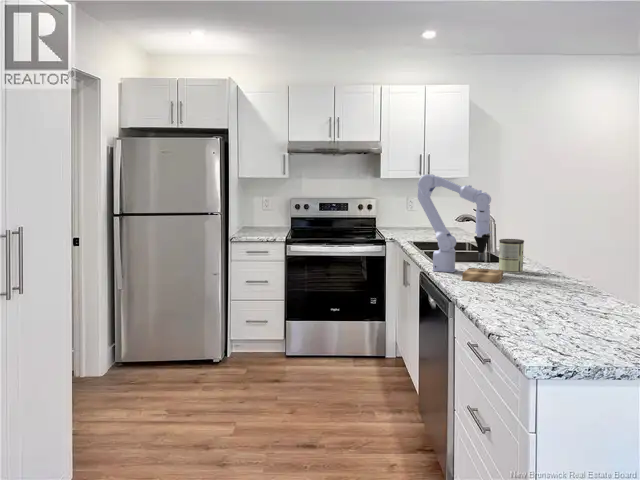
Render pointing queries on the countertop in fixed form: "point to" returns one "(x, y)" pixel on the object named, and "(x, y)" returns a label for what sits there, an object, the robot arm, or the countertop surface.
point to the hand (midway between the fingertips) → (481, 252)
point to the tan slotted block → (482, 275)
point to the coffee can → (511, 255)
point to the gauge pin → (482, 256)
